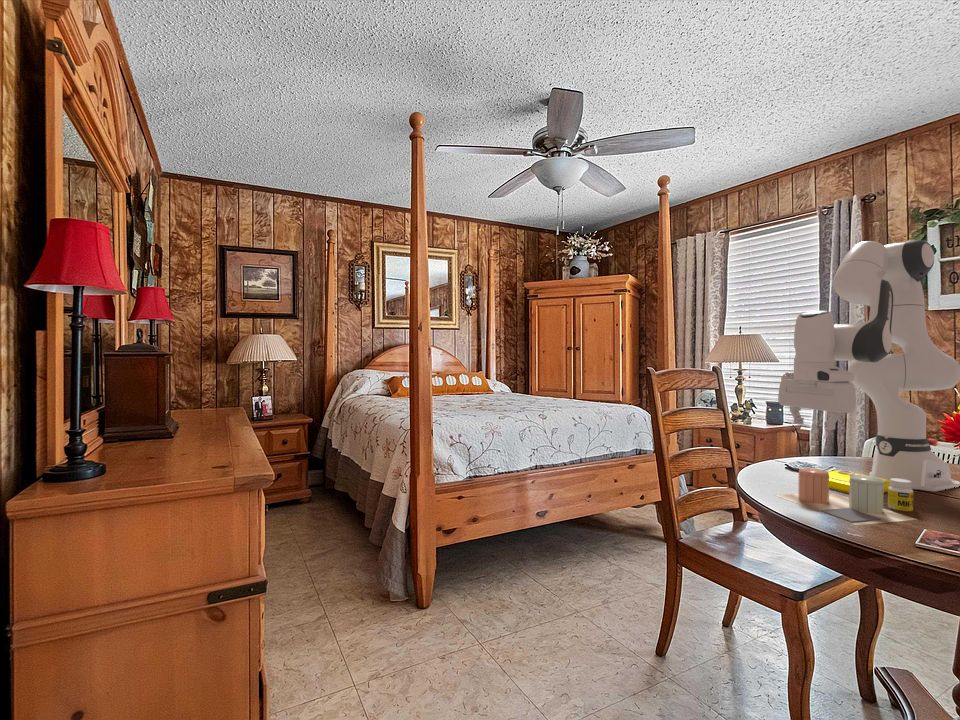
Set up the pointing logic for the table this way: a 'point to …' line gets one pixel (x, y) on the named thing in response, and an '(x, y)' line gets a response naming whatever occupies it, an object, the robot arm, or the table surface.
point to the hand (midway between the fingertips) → (813, 426)
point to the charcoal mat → (850, 515)
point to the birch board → (843, 502)
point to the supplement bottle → (900, 495)
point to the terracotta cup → (814, 485)
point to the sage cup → (866, 494)
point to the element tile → (847, 480)
